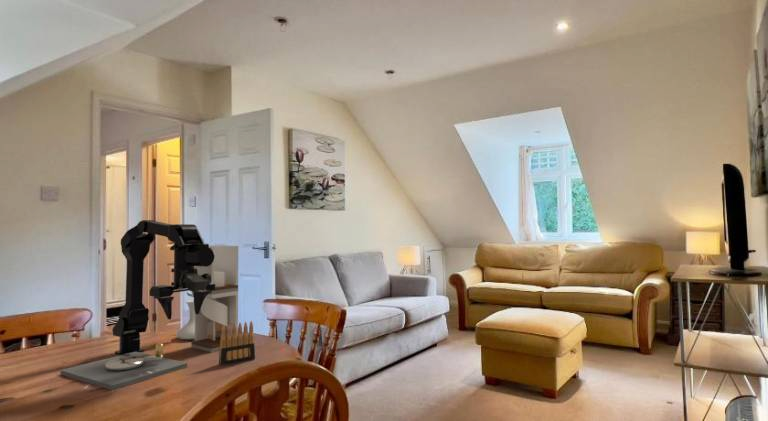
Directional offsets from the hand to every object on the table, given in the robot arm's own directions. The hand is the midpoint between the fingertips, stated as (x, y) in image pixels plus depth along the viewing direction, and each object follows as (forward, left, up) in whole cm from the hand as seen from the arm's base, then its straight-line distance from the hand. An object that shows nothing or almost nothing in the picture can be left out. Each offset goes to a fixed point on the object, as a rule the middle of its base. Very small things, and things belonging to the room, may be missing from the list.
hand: (183, 316), depth 138 cm
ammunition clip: (+12, +10, -15) cm, 22 cm away
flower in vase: (-26, +24, -15) cm, 38 cm away
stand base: (-10, -12, -15) cm, 21 cm away
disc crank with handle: (-8, -10, -13) cm, 18 cm away
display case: (-9, +19, -15) cm, 26 cm away
